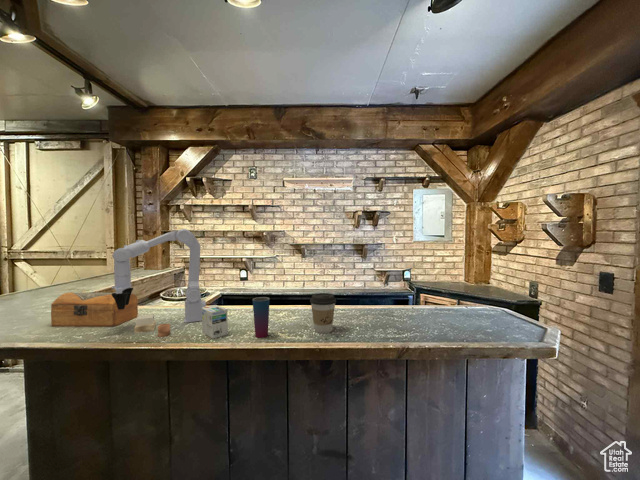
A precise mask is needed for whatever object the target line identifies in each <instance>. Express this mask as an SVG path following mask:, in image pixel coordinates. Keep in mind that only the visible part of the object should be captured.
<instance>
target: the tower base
mask: <svg viewBox="0 0 640 480" xmlns="http://www.w3.org/2000/svg"><path fill="white" fill-rule="evenodd" d="M156 325H157V321H156V319H154V322H153V324H151V325H144V326H137V327H136V324H135V326H134V330H133V331H134V332H133V333H134V334H140V332H141V333H147V332H154V331H155V329H156Z"/></svg>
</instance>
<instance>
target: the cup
mask: <svg viewBox="0 0 640 480" xmlns="http://www.w3.org/2000/svg"><path fill="white" fill-rule="evenodd" d="M270 301H271V299H270V297H267V296H259V297H255V298H252V311H253V322H254V324H253V325H254V326H253V327H254V336H255V338H257V339H263V338H267V337H268V336H269V321H270V320H269V318H270V317H269V316H270Z"/></svg>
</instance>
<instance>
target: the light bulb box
mask: <svg viewBox="0 0 640 480" xmlns="http://www.w3.org/2000/svg"><path fill="white" fill-rule="evenodd" d="M228 319H229V318H228V309H227V308H225V307H222V306H220V305H217V304H213V305H208V306H206V307H202V322H201V328H202V334H205V335H206V336H208V337H209V338H211V339H212V340H213V339H216V338H220V337H223V336H228V335H229V322H228Z"/></svg>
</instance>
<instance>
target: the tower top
mask: <svg viewBox="0 0 640 480" xmlns="http://www.w3.org/2000/svg"><path fill="white" fill-rule="evenodd" d="M154 320H155V313H152V314H151V313H149V314H140V315H138V317H136V319H135V325H136V327H137V326H144V325H151V324H153V322H154Z"/></svg>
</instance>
